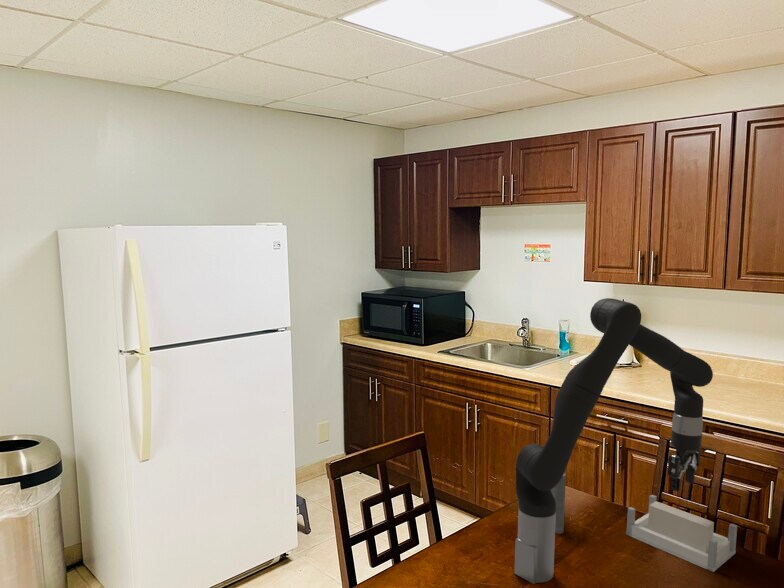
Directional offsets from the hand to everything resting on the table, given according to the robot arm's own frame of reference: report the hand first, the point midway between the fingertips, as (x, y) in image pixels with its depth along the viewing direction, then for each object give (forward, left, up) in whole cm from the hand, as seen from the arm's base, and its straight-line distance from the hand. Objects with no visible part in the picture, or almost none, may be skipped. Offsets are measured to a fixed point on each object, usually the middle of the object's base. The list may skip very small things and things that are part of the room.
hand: (682, 486), depth 164 cm
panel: (0, 0, -16) cm, 16 cm away
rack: (0, 0, -17) cm, 17 cm away
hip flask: (-17, +31, -17) cm, 39 cm away
